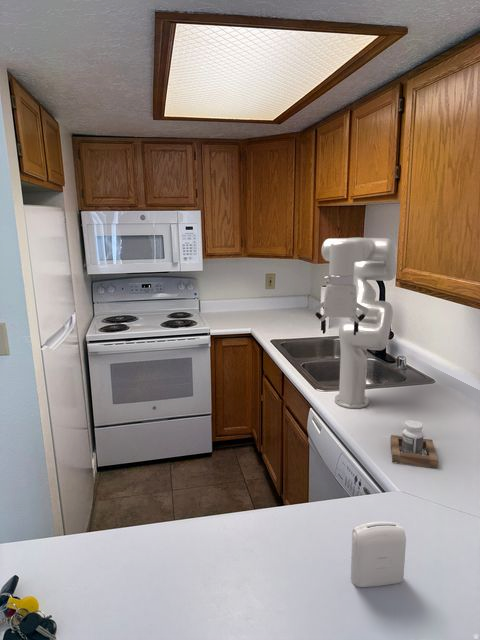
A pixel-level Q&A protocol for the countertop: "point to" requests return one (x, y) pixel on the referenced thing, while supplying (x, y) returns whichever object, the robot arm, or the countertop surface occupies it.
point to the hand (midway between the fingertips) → (339, 333)
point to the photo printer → (378, 554)
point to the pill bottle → (412, 438)
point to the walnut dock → (414, 459)
